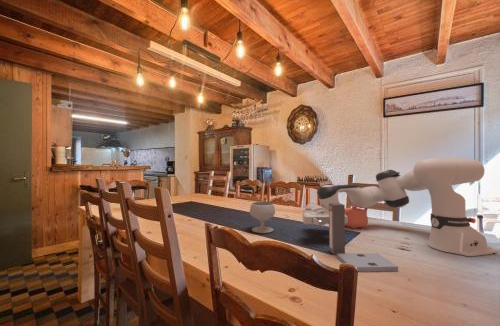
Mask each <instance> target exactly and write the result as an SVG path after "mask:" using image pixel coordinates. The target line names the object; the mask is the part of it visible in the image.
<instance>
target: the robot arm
mask: <svg viewBox="0 0 500 326" xmlns="http://www.w3.org/2000/svg"><path fill="white" fill-rule="evenodd" d="M400 174H401V172H400V171H398V172H397V171H396V170H394V169H383V170H381V171H379V172H378V173H377V174H376V175H375V179H376V182H377V184H378V186H379V187H378V186H374V185H372V186H371V185H370V186H365V187H359V185H358V184H338V185H337V184H336V185H335V184H334V185H331V184H326V185H325V184H323V185H322V186H320V187H319V188H318V190H317V191H316V193H317V196H318V199H319V204H320V205H319V204H317V203H315V202H312V203H311V202H310V203H308V204H306V206H305V208H304V209H303V210H302V223H303V224H304V225H317V226H325V225H329V203H340V200H339V193H346V195H347V197H348V198H349V201H350V202H351V203H352V205H353V206H356V207H357V208H359V209H364V208H367V207H368V208H369V207H373V206H375V205H376V204H378V203H380V202H384V203H383V205H387V206H388V207H390V208H392V209H393V208H394V209H395V208H396V209H399V208H400V209H401V208H403V207H405V206H407V205H408V204H409V203H410V198H409V196H408V194H407V191H409V192H420V191H424V190H425V191H426V190H428V193H429V196H430V200H431V201H430V203H431V212H430V224H431V226H430V227H431V228H430V232H429V233H430V234H429V238H428V242H427V246H429V247H430V248H432V249H435V250H438V251H442V252H446V253H451V254H456V255H462V256H466V257H476V256H477V257H478V256H484V255H493V253H495V254H496V253H497V251H496V250H495V249H494V248H491V247H488V241H487V238H486V237H485V235H483V234H482V233H480V231H478V230H477V229H475V228H473V227H472V226H471V224H470V223H472V224H475V223H476V222H477V220H476V218H474V217H467V216H466V199H465V197H464V196H463V195H461V194H460V193H458V192H456V191H455V190H454V188H453V186H457V185H461V184H462V185H463V184H469V183H475V182H478V181H481V179H483V177H484V176H485V167H484V165H483V163H482V162H481V161H480V160H477V159H472V158H467V157H429V158H424V159H420V160H418V161H417V162H416V163H415V164H414V166H413V169H412V170H411V171H408V172H406V173H404V174H403V175H400ZM347 222H348V217H347V216H346V215H345V224H346V223H347Z"/></svg>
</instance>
